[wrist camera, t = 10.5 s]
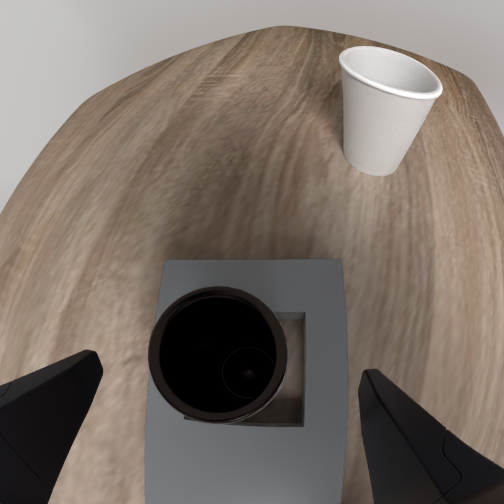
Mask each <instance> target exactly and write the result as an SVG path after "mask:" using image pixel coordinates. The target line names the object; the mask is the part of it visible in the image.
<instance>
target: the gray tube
mask: <svg viewBox="0 0 504 504" xmlns="http://www.w3.org/2000/svg"><path fill="white" fill-rule="evenodd" d="M288 357H289V354H288V343H287V338H286V335H285V332H284V329H283V327H282V325H281V323H280V321H279V319H278V317H277V316H276V315H275V313H274V312H273V311H272V310H271V308H270V307H269V306H268V305H267V304H265V303H264V302H263V301H262V300H260V299H259V298H258V297H256V296H254V295H253V294H251V293H249V292H246V291H244V290H241V289H238V288H234V287H228V286H209V287H203V288H199V289H196V290H193V291H191V292H188V293H187V294H185V295H183V296H181V297H180V298H178V299H177V300H175V301H174V302H173V303H172V304H171V305H170V306H168V307H167V309H166V310H165V311H164V312H163V313H162V315H161V316H160V317H159V319H158V321H157V322H156V324H155V326H154V329H153V331H152V334H151V337H150V341H149V347H148V363H149V369H150V373H151V377H152V380H153V382H154V384H155V386H156V388H157V390H158V391H159V393H160V395H161V396H162V397H163V399H164V400H165V401H166V402H167V403H168V404H169V405H170V406H171V407H172V408H174V409H175V410H176V411H178V412H179V413H181V414H182V415H184V416H186V417H188V418H190V419H193V420H195V421H199V422H202V423H208V424H228V423H234V422H238V421H241V420H244V419H246V418H248V417H250V416H252V415H254V414H256V413H257V412H259V411H260V410H262V409H263V408H264V407H265V406H266V405H267V404H268V403H269V402H270V401H271V400H272V399H273V398H274V397H275V396H276V395H277V394H278V393H279V391H280V390H281V388H282V386H283V383H284V379H285V376H286V372H287V367H288Z"/></svg>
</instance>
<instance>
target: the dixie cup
mask: <svg viewBox="0 0 504 504" xmlns="http://www.w3.org/2000/svg"><path fill="white" fill-rule="evenodd" d="M339 62H340V64H341V66H342V78H343V111H344V148H343V151H344V155H345V158H346V159H347V161H348V162H349V163H350V164H351V165H352V166H353V167H354V168H356V169H357V170H359V171H361V172H363V173H366V174H369V175H373V176H386V175H389V174H392V173H393V172H394V171H395V170H396V169H397V167H398V166H399V164H400V162H401V161H402V159H403V157H404V155H405V154H406V152H407V150H408V149H409V147H410V145H411V143H412V141H413V140H414V138H415V136H416V134H417V133H418V131H419V129H420V127H421V125H422V123H423V122H424V120H425V118H426V116H427V114H428V112H429V110H430V108H431V106H432V105H433V103H434V101H435V99H436V98H437V97H438V96H440V95H441V93H442V85H441V82H440V81H439V79H438V78H437V76H436V75H435V74H434V73H433V72H432V71H431V70H430V69H429V68H427V67H426V66H424V65H423V64H421V63H420V62H418V61H416V60H414V59H413V58H410V57H408V56H406V55H404V54H401V53H398V52H395V51H392V50H388V49H384V48H379V47H371V46H358V47H352V48H349V49H346V50H345V51H343V52H342V53H341V54H340V56H339Z"/></svg>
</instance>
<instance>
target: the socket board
mask: <svg viewBox="0 0 504 504" xmlns="http://www.w3.org/2000/svg"><path fill="white" fill-rule="evenodd" d="M209 286H228V287H234V288H238V289H241V290H244V291H246V292H249V293H251V294H253V295H254V296H256V297H258V298H259V299H260V300H262V301H263V302H264V303H265V304H267V305H268V306H269V307H270V308H271V310H272V311H273V312H274V313H275V315H276V316H277V317H278V319H279V320H303V403H302V423H256V422H239V421H238V422H234V423H228V424H208V423H202V422H199V421H195V420H193V419H190V418H188V417H186V416H184V415H182V414H181V413H179V412H178V411H176V410H175V409H174V408H172V407H171V406H170V405H169V404H168V403H167V402H166V401H165V400H164V399H163V397H162V396H161V395H160V393H159V391H158V390H157V388H156V386H155V384H154V382H153V380H152V377H151V373H150V369H149V381H148V393H147V408H146V427H145V504H341V498H342V489H343V479H344V468H345V456H346V440H347V416H348V347H347V323H346V305H345V291H344V278H343V267H342V259H272V260H165V261H164V267H163V273H162V278H161V285H160V291H159V297H158V304H157V311H156V318H155V324H156V322H157V321H158V319H159V317H160V316H161V315H162V313H163V312H164V311H165V310H166V309H167V307H168V306H170V305H171V304H172V303H173V302H174V301H175V300H177V299H178V298H180V297H181V296H183V295H185V294H187V293H188V292H191V291H193V290H196V289H199V288H203V287H209ZM154 326H155V325H154Z"/></svg>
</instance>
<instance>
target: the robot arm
mask: <svg viewBox="0 0 504 504" xmlns="http://www.w3.org/2000/svg"><path fill="white" fill-rule="evenodd" d="M102 376H103V367H102V365H101V362H100V360H99V357H98V354H97V353H96V352H95V351H92V350H83V351H81V352H79V353H77V354H74V355H72V356H70V357H67V358H65V359H63V360H60V361H58V362H56V363H53V364H51V365H49V366H46V367H44V368H42V369H39V370H37V371H35V372H32V373H30V374H28V375H25V376H23V377H20V378H18V379H16V380H13V381H12V382H8V383H6V384H3V385H1V386H0V504H48V502H49V499H50V496H51V494H52V491H53V488H54V486H55V483H56V481H57V479H58V476H59V474H60V471H61V469H62V467H63V464H64V462H65V460H66V458H67V455H68V453H69V451H70V449H71V446H72V444H73V442H74V440H75V438H76V436H77V434H78V431H79V429H80V427H81V425H82V423H83V421H84V419H85V417H86V415H87V413H88V411H89V409H90V407H91V404H92V402H93V399H94V396H95V394H96V391H97V388H98V386H99V383H100V381H101V378H102ZM358 398H359V408H360V419H361V431H362V438H363V444H364V448H365V453H366V459H367V464H368V469H369V475H370V480H371V486H372V492H373V498H374V504H504V469H503V468H502V467H500V466H499V465H497V464H495V463H494V462H492V461H491V460H489V459H487V458H486V457H484V456H483V455H481V454H480V453H478V452H477V451H475V450H474V449H472V448H471V447H469V446H468V445H467V444H465V443H464V442H463V441H461V440H460V439H459V438H458V437H456V436H455V435H454V434H453V433H452V432H450V431H449V430H446V427H444V426H443V425H442V424H441V423H440V422H438V421H437V420H436V419H435V418H434V417H433V416H431V415H430V414H429V413H428V412H427V411H426V410H424V409H423V408H422V407H421V406H420V405H418V404H417V403H416V402H415V401H414V400H413V399H411V398H410V397H409V396H408V395H407V394H406V393H404V392H403V391H402V390H401V389H400V388H399V387H397V386H396V385H395V384H394V383H393V382H392V381H390V380H389V379H388V378H387V377H386V376H385V375H383V374H382V373H381V372H380V371H379V370H377V369H366V370H364V371H363V373H362V377H361V381H360V385H359V389H358Z"/></svg>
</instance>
